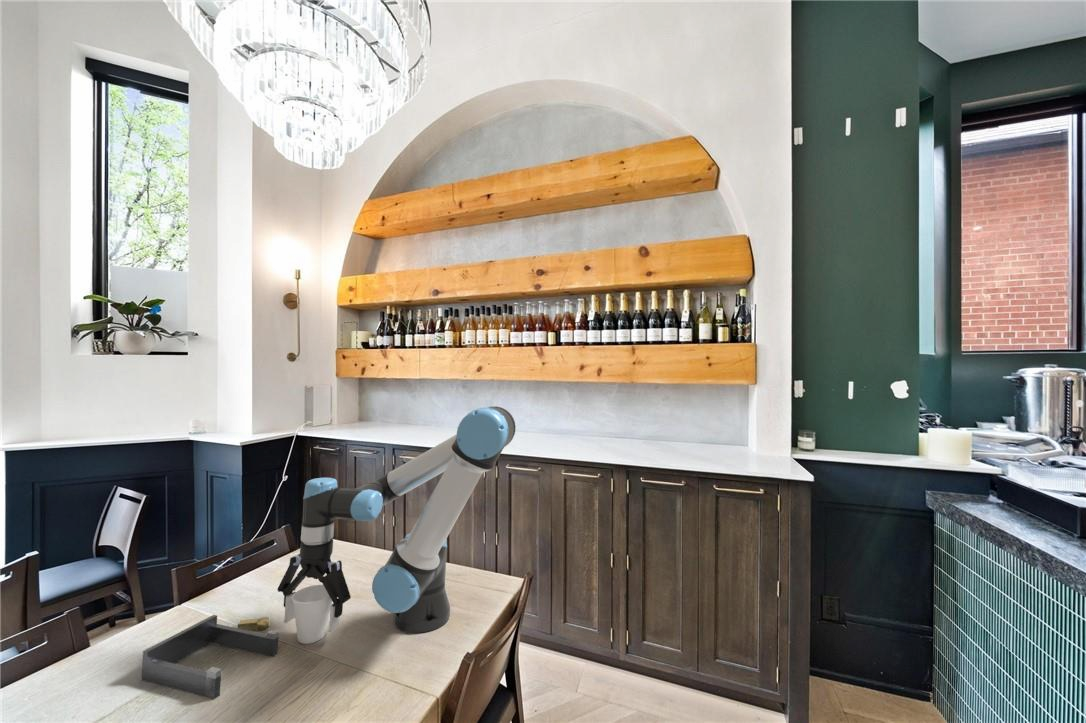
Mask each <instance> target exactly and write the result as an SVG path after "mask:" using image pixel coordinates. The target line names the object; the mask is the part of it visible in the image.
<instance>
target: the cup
mask: <svg viewBox="0 0 1086 723" xmlns="http://www.w3.org/2000/svg"><path fill="white" fill-rule="evenodd" d="M295 592H296V593H294V595H293V596H292V601H293V605H294V613H295V618H294V619H295V626H296V627H295V628H296V635H297V636H296V637H297V642H299V643H301V644H302V645H310V644H314V643H317V642H319V641H320V640H322V639H323V638H324V636H325V634H326V631H327V626H328V623H329V622H328V621H329V619H330V608H331V605H332V604H333V601H332V600H331V598H330V596H329V594H328V592H327V591H326V589H325V587H324V585H323V584H314V585H310V586H307V587H306V586H305V587H304V588H301V589H299V590H297V591H295Z"/></svg>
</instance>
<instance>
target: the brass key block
mask: <svg viewBox="0 0 1086 723" xmlns="http://www.w3.org/2000/svg"><path fill="white" fill-rule="evenodd" d="M269 627H270V617H269V616H264V617H260V618H251V619H241V620H239V622H238V623H237V627H236V628H239V629H244V630H249V631H254V632H255V631H266V630H267V629H269Z"/></svg>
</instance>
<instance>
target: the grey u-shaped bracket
mask: <svg viewBox="0 0 1086 723" xmlns="http://www.w3.org/2000/svg"><path fill="white" fill-rule="evenodd" d="M217 622H218V615H216V614H213V615H210V616H208V617H206V618H204V619H202V620H200V621H199V622H197V623H195V624H193V625H191V626H189V627H187V628H185V629H183V630H181V631H179V632H178V633H175V634H174V635H171V636H170V637H168V638H165V639H164V640H162V641H159V642H158V643H156V644H154V645H152V646H149V648H146V649H145V650H143V651H142V660H141V674H140V681H143V682H147V683H149V684H150V683H151V684H154V685H159V686H161V687H166V688H170V689H175V690H178V691H181V692H185V693H188V694H192V695H196V696H199V697H200V696H201V697H204V698H207V699H211V700H215V699H217V698H219V697H220V695H221V685H222V684H221V683H222V682H221V681H222V668H219V667H215V666H212V667H210V668H208V669H207V670H202V669H198V668H193V667H190V666H185V665H182V664H177V663H179V662H180V661H182V660H184V659H186V658H188V657H190V656H191V655H193V654H194V653H196V652H198V651H199V650H202V649H203V648H204V647H207V646H208V645H210V644H213V645H217V646H218V645H219V646H223V647H226V648H231V649H235V650H240V651H245V652H248V653H249V652H250V653H253V654H257V655H262V656H267V657H272V658H274V657H275V656H278V653H279V641H280V639H279V638H280V637H279V636H280V631H278V630H273V629H270V630H268V631H267V632H266V633H262V632H257V631H255V630H254V631H249V630H244V629H239V628H237V627H233V626H229V625H225V624H219V623H217Z"/></svg>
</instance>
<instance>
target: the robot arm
mask: <svg viewBox="0 0 1086 723" xmlns="http://www.w3.org/2000/svg"><path fill="white" fill-rule="evenodd" d="M514 418H515V417H514V416H513V415H512V414H511V413H510V411H508V410H507V409H505V408H504V407H501V406H487V407H479V408H475V409H474V410H471V411H470V412H469V413H467V414H466V415H465V416H464V417H463V418H462V419H461V421H460V422H459V424H458V425H457V426H458V427H457V430H456V434H454V435H453V436H451V437H449V438H448V439H446V440H444V441H442V442H441V443H438V444H437V445H435V446H433V447H431V448H430V449H429V450H426V451H424V452H423V453H421V454H419V455H417V456H415V457H414V458H412V459H411V460H409V461H407V462H405V463H403V464H402V465H400V466H398V467H396V468H395V469H393V470H391V471H389V472H388V473H385V474H383V475H381V477H379V478H377V479H375V480H373V481H371V482H368V483H366V484H364V485H360V486H359V487H357V488H343V487H338V481H337V479H336V478H333V477H318V478H312V479H310V480H308V481H307V482H305V487H304V494H303V498H302V499H303V500H302V501H303V502H302V520H301V532H300V534H301V535H300V541H301V542H300V544H299V545H300V547H299V554H296V555H294V556H292V557H290V558H289V564H288V567H287V569H286V571H285V573H284V575H283V576H282V578H281V581H280V583H279V585H278V587H277V592H279V593H282V594H283V596H284V597H283V608H284V617H283V618H284V619H283V623H285V624H287V623H289V622H291V621H292V620H293V619H295V613H294V605H293V601H292V596H293V595H294V593H296V592H297V591H296V589H297V587H299V585H300V584H301V583H302V582H303V580H304V579H306V578H308V579H310V578H311V579H314V580H318V582H320V583H322V585H324V587H325V589H326V591H327V592H328V594H329V596H330V598H331V600H332V605H331V608H330V613H329V622H328V623H329V626H328V627H329V628H328V633H333V632H334V631H336V630H338V628H339V627H340V622H341V620H340V618H341V616H342V615H343V605H344V603H346V602H348V601H349V600H350V599H351V598H352V597H351V594H350V590H349V587H348V584H347V581H346V578H345V576H344V572H343V567H342V566H343V564H342V560H337V561H332V560H331V557H332V554H333V550H334V549H333V548H334V539H333V538H334V534H335V533H334V532H335V519H337V520H346V521H347V520H349V521H357V522H367V521H368V522H371V521H374V520H376V519H377V518H378V517H379V515H380V513H381V512H382V508H383V506H386V505H387V504H390V503H391V502H393V501H394V500H396V499H398V498H400V497H402V496H403V495H405V494H406V493H408V492H411V491H412V490H414V489H415V488H417V487H419V486H421V485H423V484H425V483H426V482H428V481H430V480H432V479H434V478H435V477H437V476H439V475H441V474H442V475H441V477H440V479H439V481H438V482H437V485H436V486H435V488H434V490H433V492H432V493H431V495H430V496H429V499H428V500H427V502H426V504H425V506H424V508H423V510H422V511H421V513H420V515H419V517H418V519H417V520H416V522H415V523H414V526H413V528H412V530H411V531H410V533H407V534H406V535H405V536H404V538H401V539H400V540H399V541H398V542H397V544H396V545H395V548H394V549H393V551H392V552H391V555H390V556H389V558H388V560H387V561H386V563H385V564H384V565H383V566H381V567H380V568H379V569H378V570H377V572H376V574H375V575H374V577H373V579H372V583H371V591H372V593H373V596H374V600H375V601H376V603H377V604H378V605H379V606H380V607H381V608H382V609H384V610H385V611H388V612H389V613H393V616H394V617H393V623H394V626H395V628H397V629H398V630H401V631H402V632H405V633H410V634H411V633H413V634H419V633H427V632H431V631H434V630H437V629H439V628H440V627H443V626H444V625H446V623H447V622H448V621H449V620H450V618H449V617H451V604H450V601H449V598H448V593H447V590H446V573H447V572H446V569H447V568H446V567H447V548H448V545H447V542H448V541H447V538H448V537H449V535H450V533H451V531H452V530H453V528H454V526H455V525H456V524H455V523H456V522H457V520H458V518H459V516H460V514H462V511H463V509H464V507H465V506H466V504H467V502H468V500H469V499H470V497H471V495H472V493H473V492H474V490H475V488H476V487H477V484H478V483H479V481H480V479H481V477H482V475H483V474H484V473H485V472H489V471H492V470H493V468H494V466H495V464H496V462H497V461H498V460H499V459H498V458H499V457H500V455H501V454H502V452H503V450H504V449H505V447H506V446H507V445H510V443H511V442H512V440H513V439H514V437H515V434H516V421H515V419H514ZM299 567H301V569H300V570H299V572H298V573H297V571H298V569H299ZM296 573H297V574H296ZM295 575H296V576H295Z"/></svg>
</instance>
